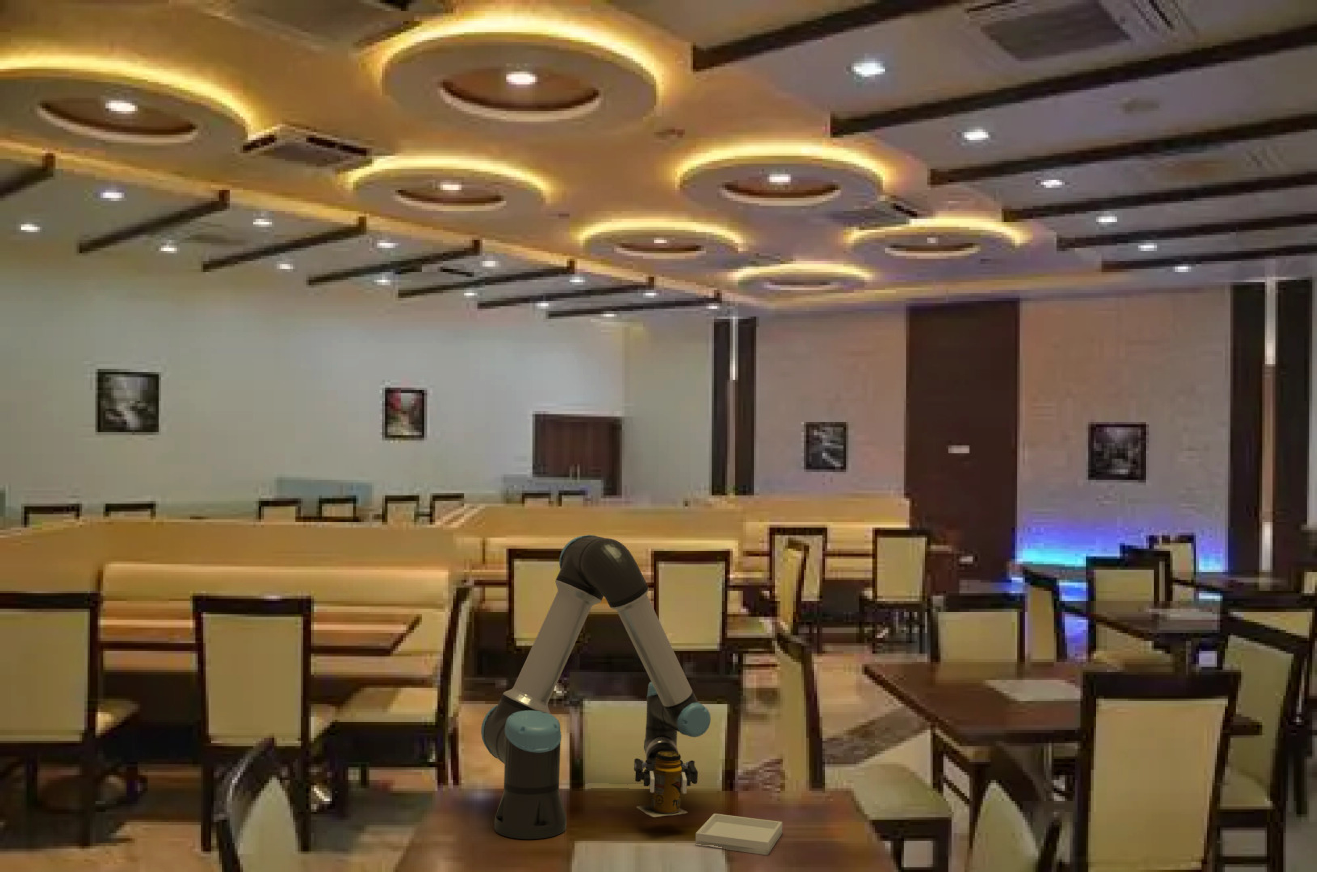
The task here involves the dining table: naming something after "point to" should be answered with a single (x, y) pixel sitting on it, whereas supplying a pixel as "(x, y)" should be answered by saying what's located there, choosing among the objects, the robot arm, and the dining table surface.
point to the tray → (740, 833)
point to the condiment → (666, 786)
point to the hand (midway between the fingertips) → (668, 786)
